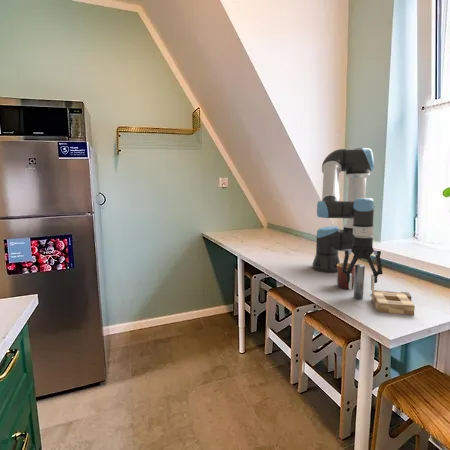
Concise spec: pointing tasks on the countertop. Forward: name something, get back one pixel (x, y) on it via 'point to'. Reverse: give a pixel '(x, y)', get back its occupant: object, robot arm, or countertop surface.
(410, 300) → the bar
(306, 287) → the countertop surface
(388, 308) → the socket block
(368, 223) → the robot arm
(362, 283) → the pin
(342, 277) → the mug
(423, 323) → the countertop surface
